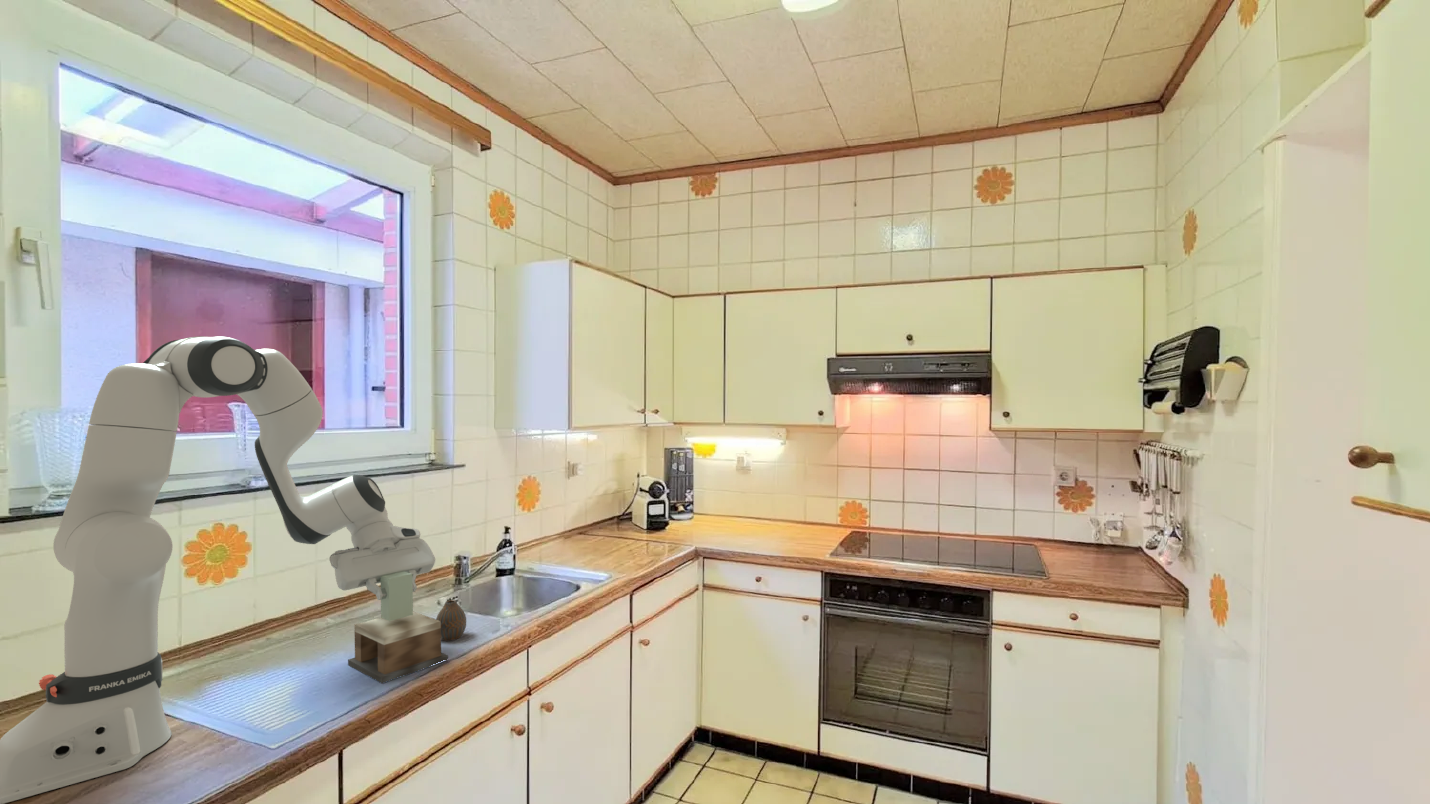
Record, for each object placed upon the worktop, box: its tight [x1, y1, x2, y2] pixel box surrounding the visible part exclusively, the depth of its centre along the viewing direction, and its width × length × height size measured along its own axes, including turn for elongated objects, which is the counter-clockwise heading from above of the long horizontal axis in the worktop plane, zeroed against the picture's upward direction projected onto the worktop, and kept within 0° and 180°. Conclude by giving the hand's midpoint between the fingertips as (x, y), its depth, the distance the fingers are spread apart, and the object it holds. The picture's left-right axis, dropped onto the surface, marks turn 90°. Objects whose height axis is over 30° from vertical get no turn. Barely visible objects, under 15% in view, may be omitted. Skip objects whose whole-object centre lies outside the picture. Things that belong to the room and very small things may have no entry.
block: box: [380, 571, 414, 621], centre depth 137 cm, size 5×4×9 cm
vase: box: [435, 599, 467, 642], centre depth 152 cm, size 7×7×9 cm
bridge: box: [347, 610, 449, 684], centre depth 137 cm, size 14×16×9 cm
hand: (398, 594), depth 137 cm, fingers closed on block, 5 cm apart
